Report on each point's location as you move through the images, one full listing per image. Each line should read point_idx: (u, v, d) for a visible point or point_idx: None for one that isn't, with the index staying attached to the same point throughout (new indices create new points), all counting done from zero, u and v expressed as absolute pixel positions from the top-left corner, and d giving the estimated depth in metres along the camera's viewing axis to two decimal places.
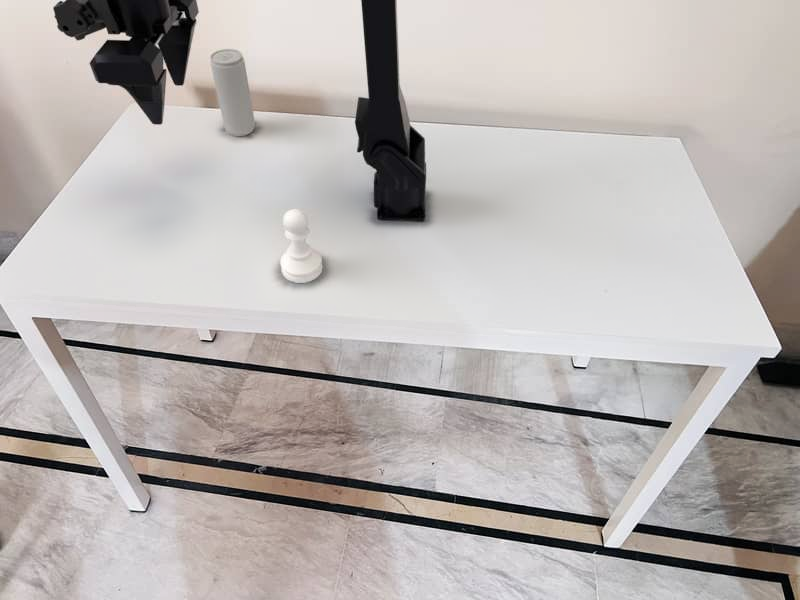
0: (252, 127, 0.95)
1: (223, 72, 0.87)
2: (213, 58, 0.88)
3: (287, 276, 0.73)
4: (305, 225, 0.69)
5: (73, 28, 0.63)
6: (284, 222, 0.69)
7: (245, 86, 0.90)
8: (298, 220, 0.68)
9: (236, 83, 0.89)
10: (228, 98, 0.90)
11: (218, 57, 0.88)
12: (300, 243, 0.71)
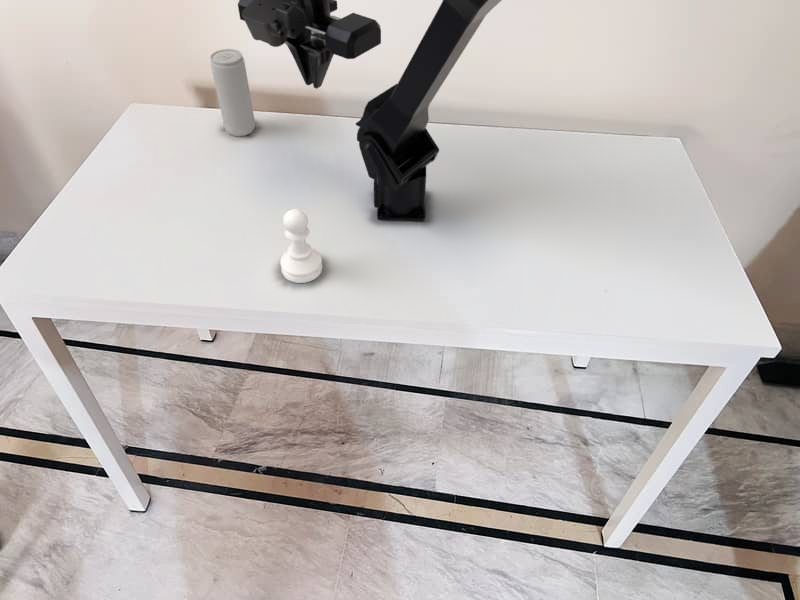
0: (252, 127, 0.95)
1: (223, 72, 0.87)
2: (213, 58, 0.88)
3: (287, 276, 0.73)
4: (305, 225, 0.69)
5: (298, 28, 0.68)
6: (284, 222, 0.69)
7: (245, 86, 0.90)
8: (298, 220, 0.68)
9: (236, 83, 0.89)
10: (228, 98, 0.90)
11: (218, 57, 0.88)
12: (300, 243, 0.71)
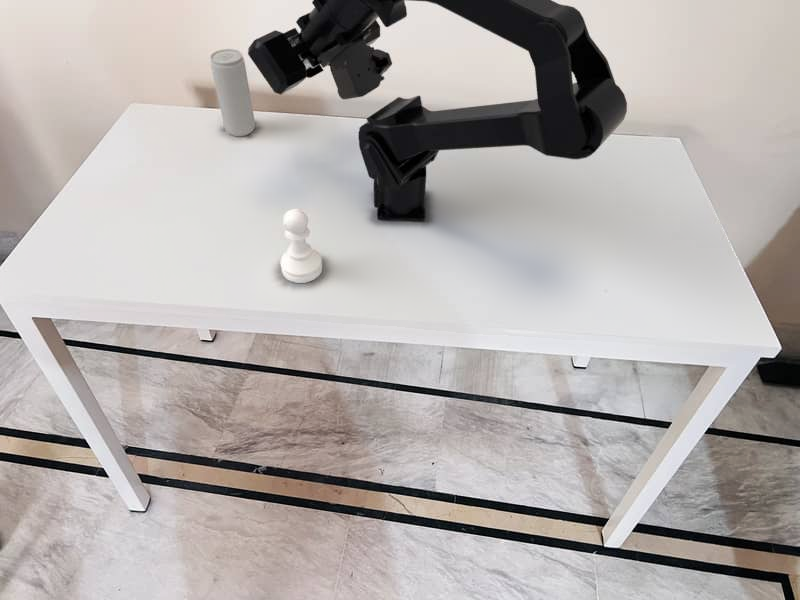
0: (252, 127, 0.95)
1: (223, 72, 0.87)
2: (213, 58, 0.88)
3: (287, 276, 0.73)
4: (305, 225, 0.69)
5: None
6: (284, 222, 0.69)
7: (245, 85, 0.90)
8: (298, 220, 0.68)
9: (236, 83, 0.89)
10: (228, 98, 0.90)
11: (218, 57, 0.88)
12: (300, 243, 0.71)
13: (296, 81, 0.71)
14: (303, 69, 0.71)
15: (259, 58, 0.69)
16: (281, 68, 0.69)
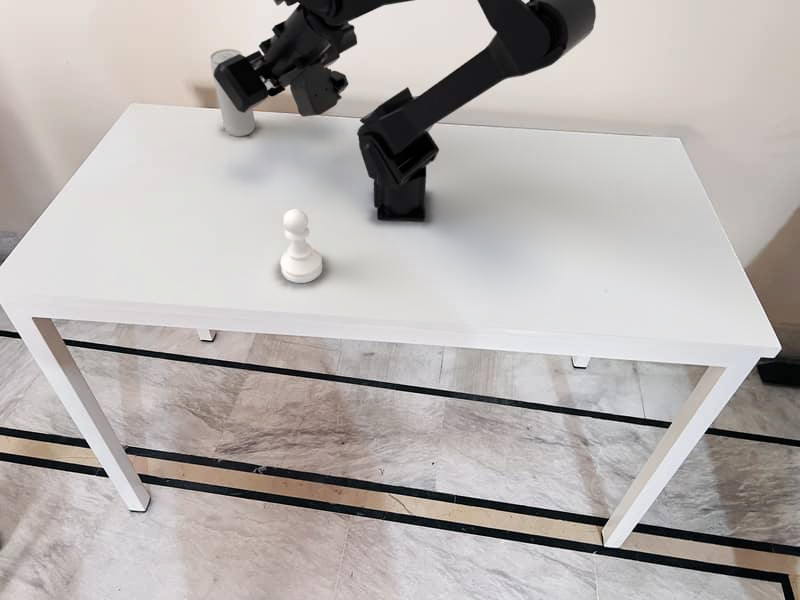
0: (252, 127, 0.95)
1: None
2: (213, 58, 0.88)
3: (287, 276, 0.73)
4: (305, 225, 0.69)
5: None
6: (284, 222, 0.69)
7: None
8: (298, 220, 0.68)
9: None
10: (228, 98, 0.90)
11: (218, 57, 0.88)
12: (300, 243, 0.71)
13: (258, 101, 0.77)
14: (264, 90, 0.77)
15: (223, 80, 0.76)
16: (243, 89, 0.76)
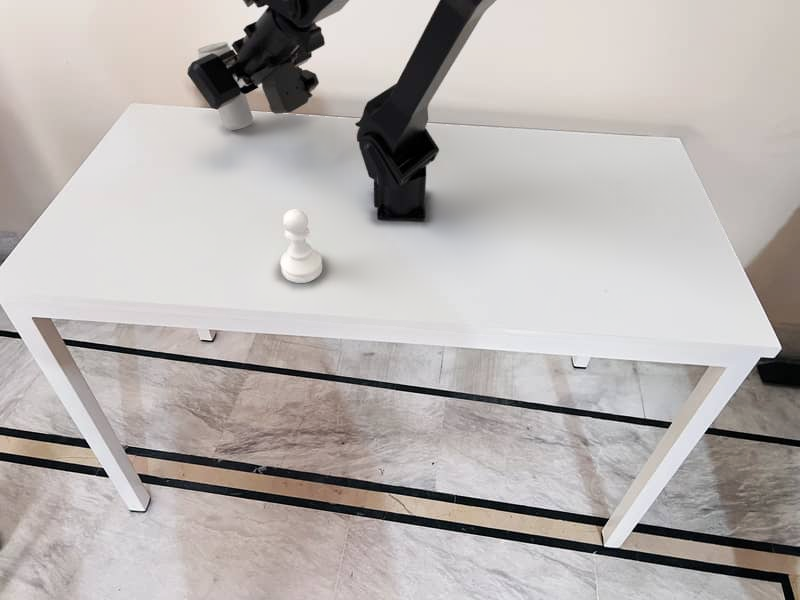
0: (249, 118, 0.95)
1: None
2: (200, 50, 0.90)
3: (287, 276, 0.73)
4: (305, 225, 0.69)
5: None
6: (284, 222, 0.69)
7: None
8: (298, 220, 0.68)
9: None
10: None
11: (205, 49, 0.90)
12: (300, 243, 0.71)
13: (230, 98, 0.81)
14: (236, 88, 0.81)
15: (197, 78, 0.79)
16: (216, 87, 0.79)
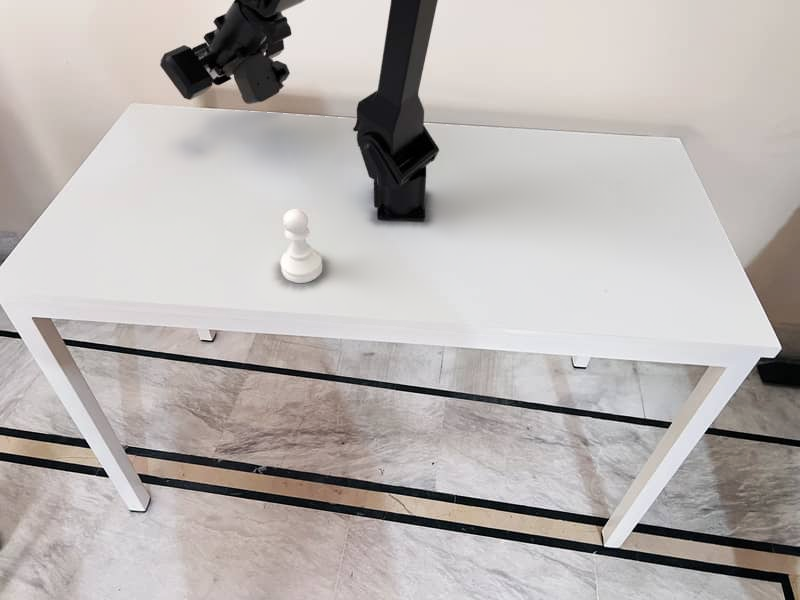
0: None
1: None
2: None
3: (287, 276, 0.73)
4: (305, 225, 0.69)
5: None
6: (284, 222, 0.69)
7: None
8: (298, 220, 0.68)
9: None
10: None
11: None
12: (300, 243, 0.71)
13: (202, 88, 0.83)
14: (208, 78, 0.83)
15: (169, 69, 0.81)
16: (187, 77, 0.81)
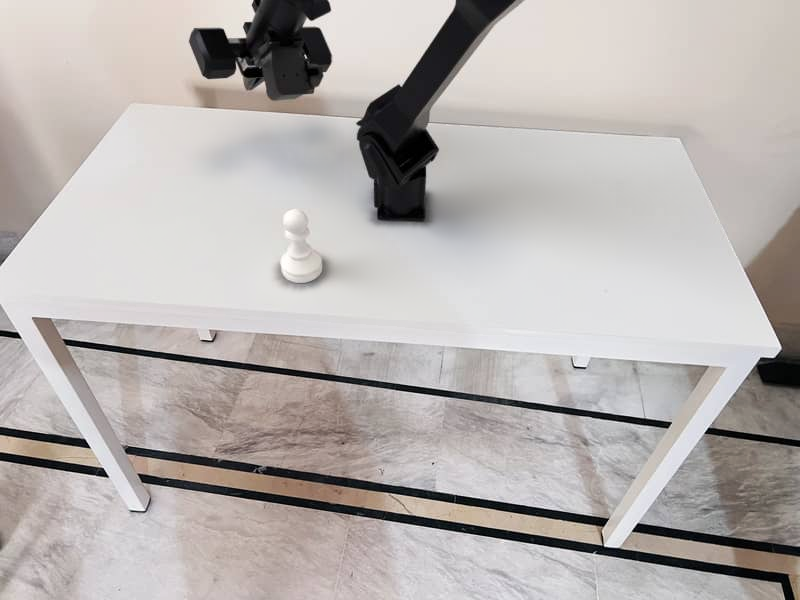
0: None
1: None
2: None
3: (287, 276, 0.73)
4: (305, 225, 0.69)
5: None
6: (284, 222, 0.69)
7: None
8: (298, 220, 0.68)
9: None
10: None
11: None
12: (300, 243, 0.71)
13: (223, 68, 0.77)
14: (232, 60, 0.77)
15: (194, 43, 0.76)
16: (208, 52, 0.75)
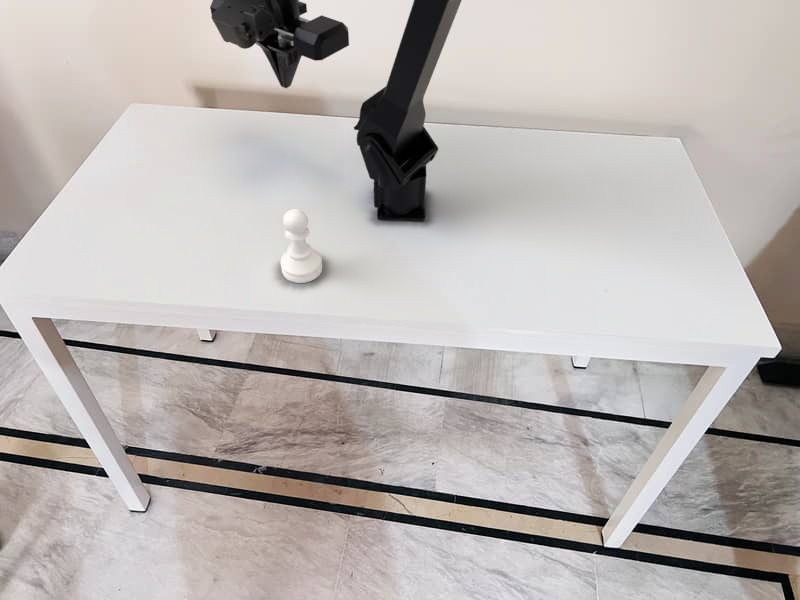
0: None
1: None
2: None
3: (287, 276, 0.73)
4: (305, 225, 0.69)
5: (266, 30, 0.69)
6: (284, 222, 0.69)
7: None
8: (298, 220, 0.68)
9: None
10: None
11: None
12: (300, 243, 0.71)
13: None
14: None
15: None
16: None
